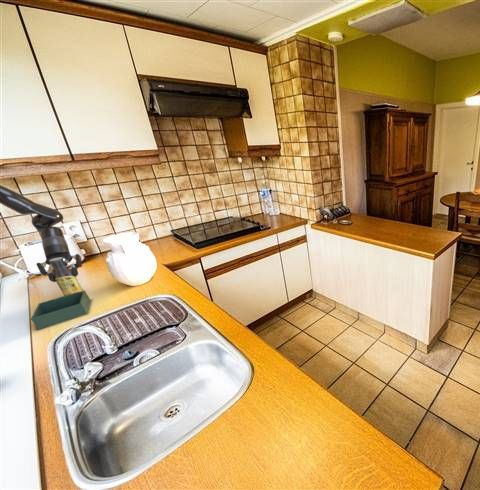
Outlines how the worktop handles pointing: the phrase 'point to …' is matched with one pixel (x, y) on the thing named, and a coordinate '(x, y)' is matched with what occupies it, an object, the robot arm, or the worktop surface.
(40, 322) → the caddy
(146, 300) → the worktop surface
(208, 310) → the worktop surface
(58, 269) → the sauce bottle
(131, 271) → the pitcher
